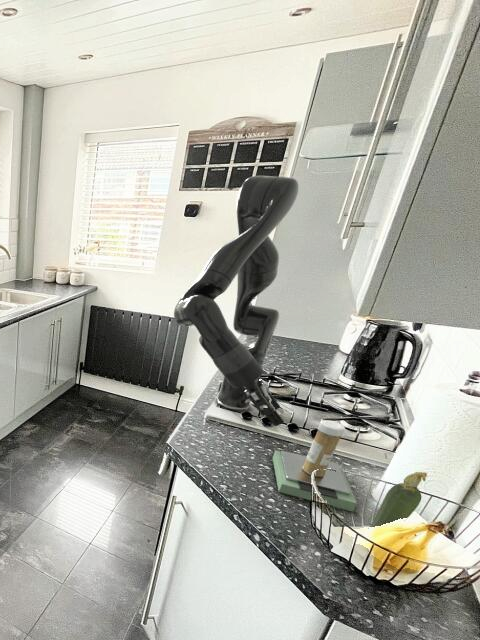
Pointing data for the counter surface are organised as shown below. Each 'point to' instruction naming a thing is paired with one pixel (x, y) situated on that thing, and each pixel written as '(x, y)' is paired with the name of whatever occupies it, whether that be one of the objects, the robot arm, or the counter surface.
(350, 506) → the scale
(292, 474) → the pan
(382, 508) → the vegetable
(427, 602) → the counter surface
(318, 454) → the sprinkles bottle
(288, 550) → the counter surface
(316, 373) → the counter surface
